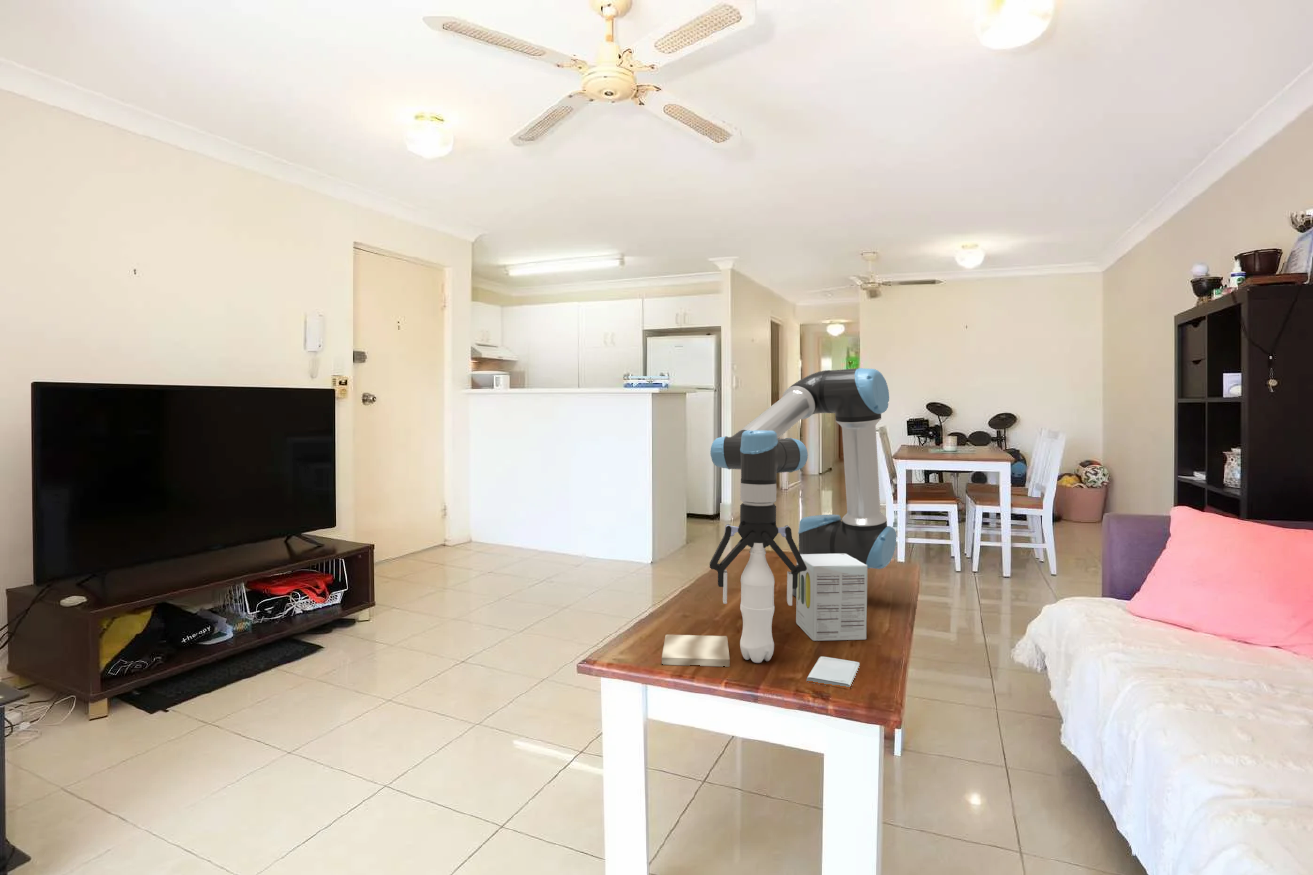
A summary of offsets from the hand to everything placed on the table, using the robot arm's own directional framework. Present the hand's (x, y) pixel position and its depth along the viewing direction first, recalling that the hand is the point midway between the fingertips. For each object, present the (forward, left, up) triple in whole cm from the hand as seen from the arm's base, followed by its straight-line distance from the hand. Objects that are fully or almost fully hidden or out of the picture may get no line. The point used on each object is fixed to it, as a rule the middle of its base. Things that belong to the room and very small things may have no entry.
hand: (757, 602), depth 135 cm
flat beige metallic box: (+13, -2, -12) cm, 18 cm away
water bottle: (0, 0, -12) cm, 12 cm away
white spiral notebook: (-15, +7, -13) cm, 21 cm away
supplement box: (-19, -19, -12) cm, 30 cm away
